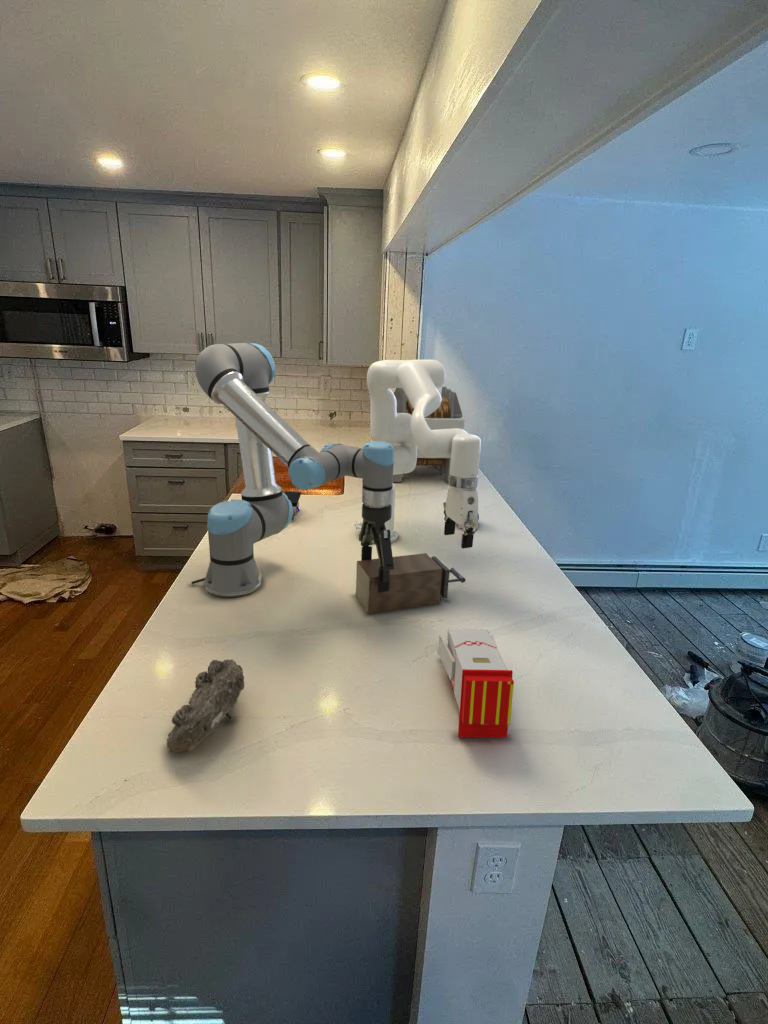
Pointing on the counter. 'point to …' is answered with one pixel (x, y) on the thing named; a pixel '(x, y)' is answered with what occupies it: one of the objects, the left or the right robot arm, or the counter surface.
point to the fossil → (206, 705)
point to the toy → (478, 682)
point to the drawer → (447, 577)
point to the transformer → (433, 426)
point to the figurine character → (294, 501)
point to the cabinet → (399, 584)
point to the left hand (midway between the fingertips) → (374, 579)
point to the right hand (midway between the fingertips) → (457, 540)
